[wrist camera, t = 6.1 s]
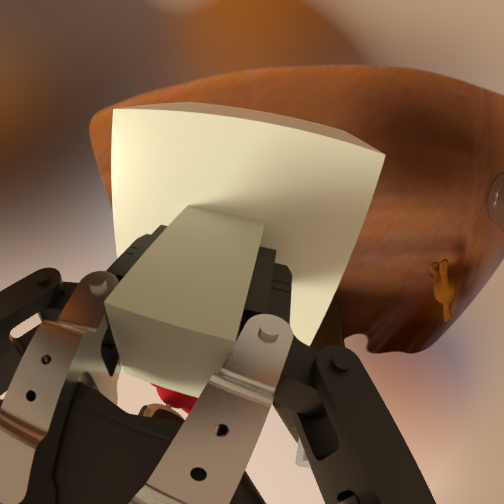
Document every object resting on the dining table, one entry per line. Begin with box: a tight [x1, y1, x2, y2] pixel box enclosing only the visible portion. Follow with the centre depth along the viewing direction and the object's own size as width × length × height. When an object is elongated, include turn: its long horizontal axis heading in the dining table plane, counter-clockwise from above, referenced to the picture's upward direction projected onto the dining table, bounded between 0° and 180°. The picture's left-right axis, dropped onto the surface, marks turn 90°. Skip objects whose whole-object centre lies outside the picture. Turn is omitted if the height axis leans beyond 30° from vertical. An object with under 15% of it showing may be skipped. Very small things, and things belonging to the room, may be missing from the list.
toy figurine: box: [428, 259, 456, 322], centre depth 33 cm, size 12×4×7 cm, turn 30°
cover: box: [104, 102, 385, 398], centre depth 13 cm, size 11×11×15 cm
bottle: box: [272, 295, 345, 467], centre depth 35 cm, size 8×16×25 cm, turn 19°
